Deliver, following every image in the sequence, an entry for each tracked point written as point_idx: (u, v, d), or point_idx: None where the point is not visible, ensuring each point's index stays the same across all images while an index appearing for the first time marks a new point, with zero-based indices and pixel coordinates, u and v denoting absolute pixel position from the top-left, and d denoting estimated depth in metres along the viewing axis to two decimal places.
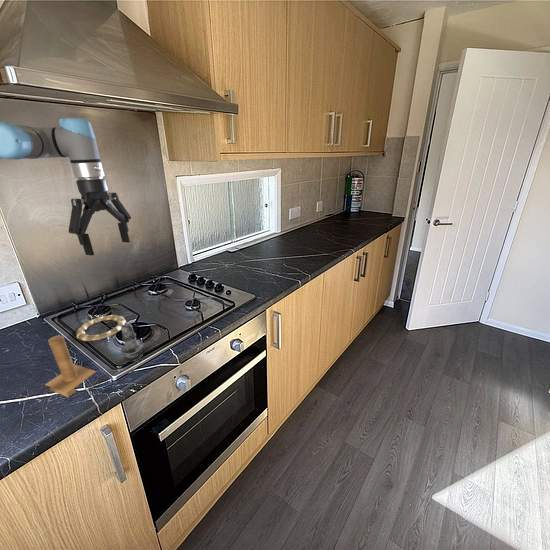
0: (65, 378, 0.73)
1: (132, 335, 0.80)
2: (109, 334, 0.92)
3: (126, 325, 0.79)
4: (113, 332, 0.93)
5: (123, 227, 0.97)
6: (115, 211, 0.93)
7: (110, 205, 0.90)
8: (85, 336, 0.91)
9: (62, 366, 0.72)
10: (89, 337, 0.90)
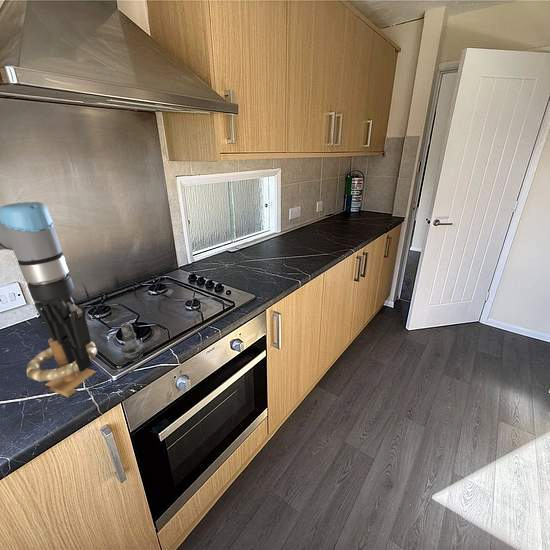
0: (65, 378, 0.73)
1: (132, 335, 0.80)
2: (70, 368, 0.68)
3: (126, 325, 0.79)
4: (76, 365, 0.69)
5: None
6: None
7: None
8: (37, 372, 0.67)
9: (62, 366, 0.72)
10: (42, 373, 0.66)
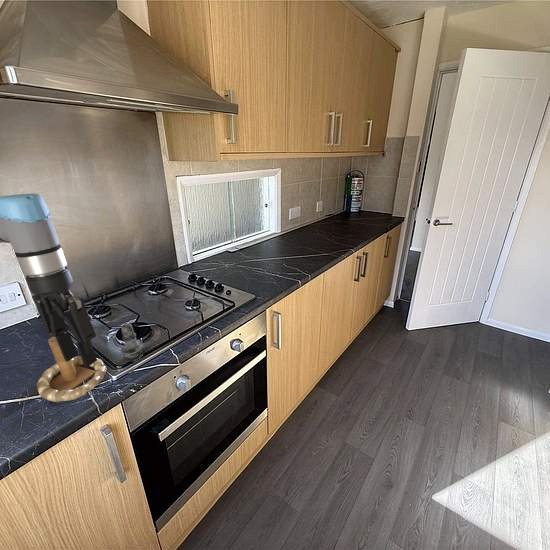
0: (65, 378, 0.73)
1: (132, 335, 0.80)
2: (86, 389, 0.71)
3: (126, 325, 0.79)
4: (91, 386, 0.72)
5: (69, 338, 0.70)
6: None
7: None
8: (52, 393, 0.68)
9: (62, 366, 0.72)
10: (58, 394, 0.68)
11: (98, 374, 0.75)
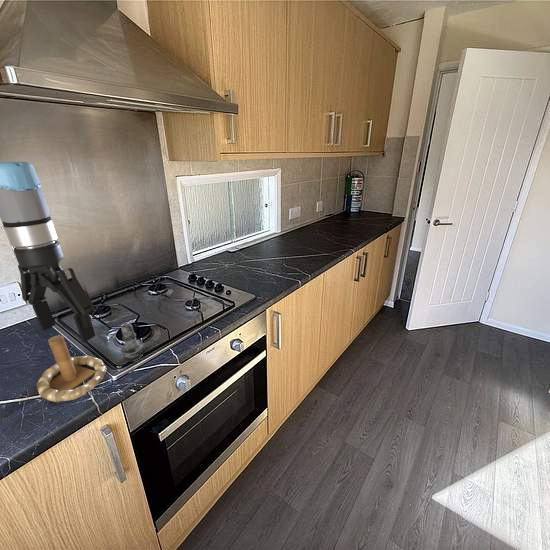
0: (65, 378, 0.73)
1: (132, 335, 0.80)
2: (86, 389, 0.71)
3: (126, 325, 0.79)
4: (91, 386, 0.72)
5: (46, 307, 0.68)
6: None
7: None
8: (52, 393, 0.68)
9: (62, 366, 0.72)
10: (58, 394, 0.68)
11: (98, 374, 0.75)
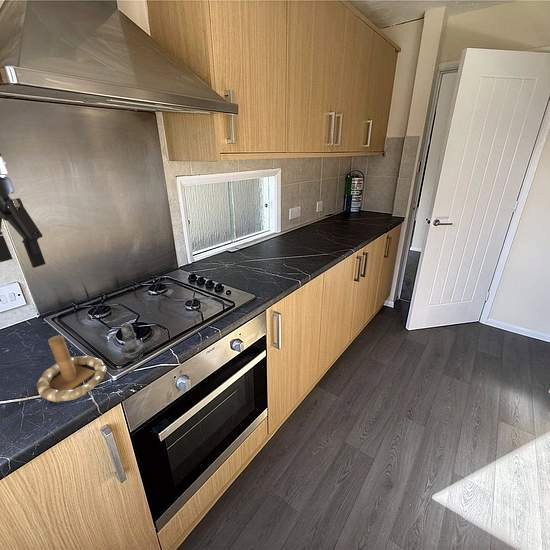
0: (65, 378, 0.73)
1: (132, 335, 0.80)
2: (86, 389, 0.71)
3: (126, 325, 0.79)
4: (91, 386, 0.72)
5: (3, 240, 0.77)
6: None
7: None
8: (52, 393, 0.68)
9: (62, 366, 0.72)
10: (58, 394, 0.68)
11: (98, 374, 0.75)
